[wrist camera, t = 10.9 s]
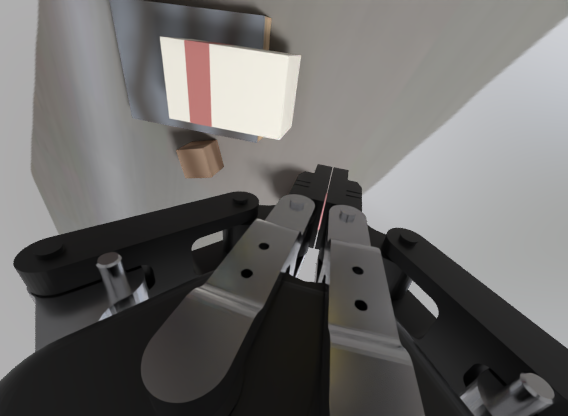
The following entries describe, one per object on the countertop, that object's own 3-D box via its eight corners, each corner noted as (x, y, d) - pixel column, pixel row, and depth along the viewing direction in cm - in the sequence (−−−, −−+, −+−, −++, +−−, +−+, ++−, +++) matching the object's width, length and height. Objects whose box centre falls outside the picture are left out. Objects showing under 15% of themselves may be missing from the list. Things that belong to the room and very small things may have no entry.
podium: (271, 18, 34) (264, 15, 32) (262, 137, 43) (256, 142, 40) (125, 0, 37) (108, -4, 35) (144, 114, 46) (132, 118, 43)
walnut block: (217, 139, 45) (202, 148, 41) (224, 166, 47) (211, 177, 43) (192, 141, 46) (176, 150, 42) (200, 167, 49) (185, 178, 45)
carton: (288, 55, 27) (159, 36, 29) (279, 140, 32) (169, 118, 34) (301, 55, 33) (192, 39, 35) (291, 126, 38) (197, 108, 40)
